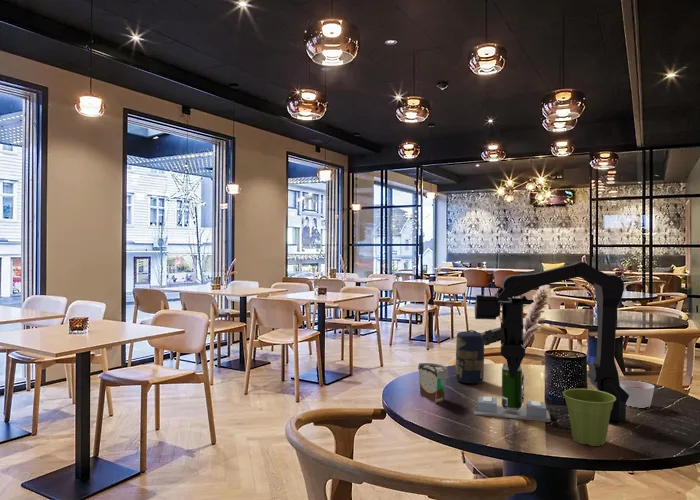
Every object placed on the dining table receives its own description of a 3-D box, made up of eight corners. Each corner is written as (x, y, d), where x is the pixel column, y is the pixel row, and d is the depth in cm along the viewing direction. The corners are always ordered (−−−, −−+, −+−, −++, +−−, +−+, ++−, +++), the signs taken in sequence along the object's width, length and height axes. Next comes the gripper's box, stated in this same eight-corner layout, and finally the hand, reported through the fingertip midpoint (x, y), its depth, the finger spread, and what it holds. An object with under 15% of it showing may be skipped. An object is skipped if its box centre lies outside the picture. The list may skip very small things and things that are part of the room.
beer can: (513, 411, 141) (513, 368, 141) (497, 406, 145) (497, 364, 145) (525, 408, 144) (526, 365, 144) (510, 403, 148) (510, 362, 148)
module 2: (544, 410, 145) (544, 401, 145) (546, 417, 139) (546, 407, 139) (525, 408, 146) (526, 399, 146) (526, 415, 140) (526, 405, 140)
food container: (456, 403, 154) (456, 370, 153) (438, 405, 151) (438, 372, 151) (434, 392, 165) (434, 361, 165) (417, 394, 163) (418, 362, 163)
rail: (548, 414, 145) (548, 410, 145) (550, 422, 138) (550, 418, 138) (475, 406, 151) (475, 403, 151) (474, 414, 144) (474, 410, 144)
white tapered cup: (646, 412, 147) (647, 390, 147) (614, 404, 154) (614, 383, 154) (659, 406, 153) (659, 385, 153) (627, 399, 160) (627, 378, 160)
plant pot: (578, 428, 133) (578, 385, 133) (624, 443, 124) (625, 396, 124) (552, 438, 126) (552, 393, 126) (599, 454, 117) (600, 405, 117)
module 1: (496, 406, 148) (496, 396, 148) (496, 412, 143) (496, 402, 143) (478, 404, 150) (478, 395, 150) (477, 410, 144) (477, 401, 144)
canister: (450, 379, 182) (451, 328, 182) (474, 377, 185) (475, 327, 185) (464, 386, 173) (465, 332, 173) (489, 384, 176) (489, 331, 175)
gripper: (484, 314, 155) (483, 366, 156) (481, 323, 138) (481, 381, 138) (522, 316, 152) (522, 368, 152) (525, 325, 134) (524, 385, 134)
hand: (512, 375), depth 144 cm, fingers closed on beer can, 5 cm apart
